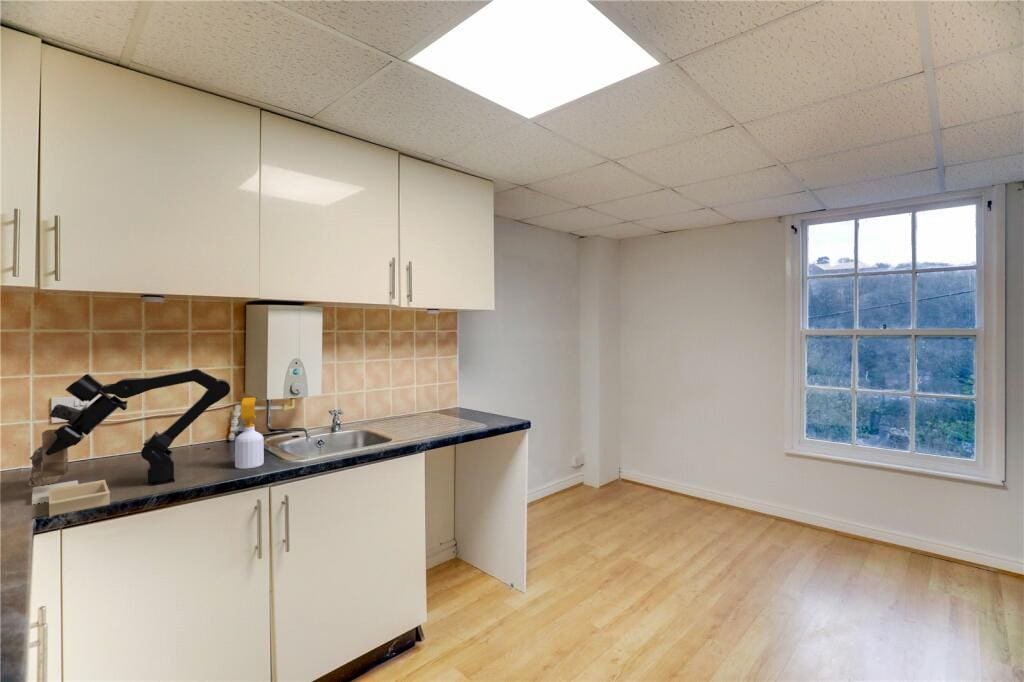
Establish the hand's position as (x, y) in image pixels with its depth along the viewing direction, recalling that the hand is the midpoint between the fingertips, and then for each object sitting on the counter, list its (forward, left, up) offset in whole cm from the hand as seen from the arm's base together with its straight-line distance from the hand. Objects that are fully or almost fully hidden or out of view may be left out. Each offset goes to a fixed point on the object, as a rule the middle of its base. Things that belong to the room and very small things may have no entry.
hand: (49, 452), depth 139 cm
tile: (-1, -1, -13) cm, 13 cm away
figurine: (+1, -18, -13) cm, 23 cm away
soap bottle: (-52, +6, -13) cm, 54 cm away
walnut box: (-1, 0, -7) cm, 7 cm away
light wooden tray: (-6, +14, -13) cm, 20 cm away
